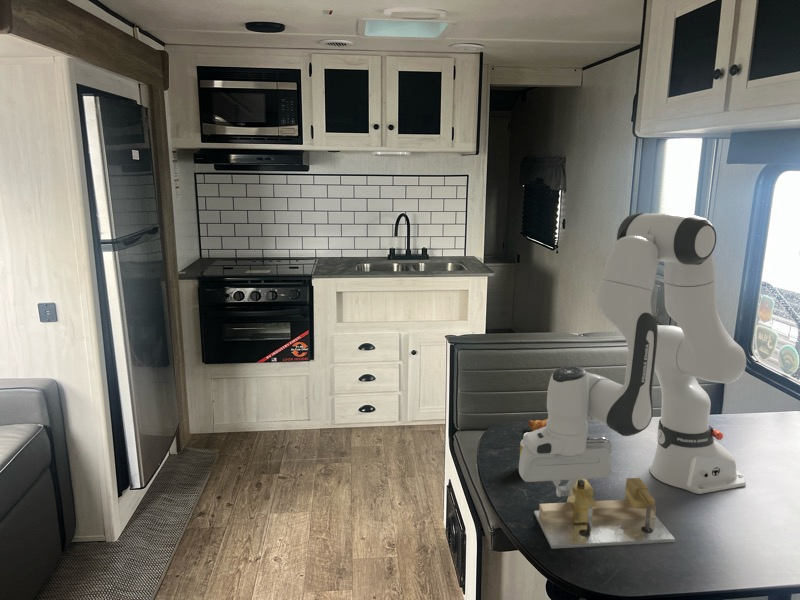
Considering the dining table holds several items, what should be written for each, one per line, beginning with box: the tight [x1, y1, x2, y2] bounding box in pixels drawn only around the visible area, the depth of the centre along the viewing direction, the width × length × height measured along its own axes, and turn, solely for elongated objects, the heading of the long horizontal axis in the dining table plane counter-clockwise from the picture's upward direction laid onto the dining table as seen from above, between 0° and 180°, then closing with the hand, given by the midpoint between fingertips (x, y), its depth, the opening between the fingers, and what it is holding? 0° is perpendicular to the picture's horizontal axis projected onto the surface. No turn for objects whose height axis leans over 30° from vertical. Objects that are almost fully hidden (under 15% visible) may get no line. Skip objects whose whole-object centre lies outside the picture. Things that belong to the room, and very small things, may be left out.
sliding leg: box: [566, 479, 597, 533], centre depth 132 cm, size 4×10×9 cm, turn 3°
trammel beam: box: [538, 477, 657, 530], centre depth 132 cm, size 26×9×8 cm, turn 93°
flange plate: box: [533, 510, 676, 550], centre depth 132 cm, size 27×13×1 cm, turn 93°
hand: (563, 495), depth 134 cm, fingers closed
